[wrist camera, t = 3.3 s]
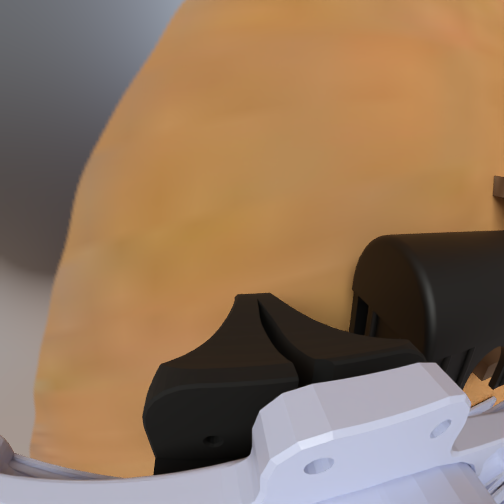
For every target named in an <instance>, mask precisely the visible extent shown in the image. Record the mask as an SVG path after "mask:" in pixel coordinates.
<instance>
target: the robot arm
mask: <svg viewBox="0 0 504 504" xmlns="http://www.w3.org/2000/svg"><path fill="white" fill-rule="evenodd" d="M495 401H496V398H495V397H494V396H493V397H491V398H489V399H487V400H486V401H484V402H482V403H480V404H478V405H476V406H474V407H472V408H470V407H471V401H470V400H469V398H468V397H467V395H466V394H465V393H464V392H463V391H462V389H461V388H460V387H459V386H458V385H457V384H456V383H455V382H454V381H453V380H452V379H451V378H450V377H449V376H448V375H447V374H446V373H445V372H444V371H443V370H442V369H441V368H440V367H439V366H438V365H437V364H436V363H427V360H426V358H425V356H424V355H423V354H422V353H421V352H420V351H419V350H418V349H417V348H416V347H415V346H414V345H413V344H412V343H411V342H410V341H409V340H407V339H386V338H376V337H369V336H363V335H358V334H353V333H350V332H346V331H342V330H339V329H336V328H333V327H330V326H327V325H325V324H322V323H320V322H317V321H315V320H313V319H311V318H309V317H307V316H305V315H304V314H302V313H300V312H298V311H297V310H295V309H293V308H292V307H290V306H289V305H287V304H286V303H284V302H283V301H281V300H280V299H278V298H277V297H275V296H274V295H272V294H271V293H257V294H238V295H237V296H236V297H235V301H234V304H233V307H232V309H231V311H230V313H229V315H228V316H227V318H226V320H225V321H224V322H223V324H222V325H221V327H220V328H219V329H218V330H217V332H216V333H215V334H214V335H213V336H212V337H211V338H210V339H209V340H207V341H206V342H205V343H203V344H202V345H201V346H199V347H198V348H196V349H195V350H193V351H191V352H189V353H187V354H186V355H183V356H181V357H179V358H176V359H174V360H171V361H168V362H166V363H162V364H161V365H160V366H159V368H158V370H157V372H156V374H155V376H154V378H153V380H152V383H151V385H150V387H149V390H148V393H147V397H146V401H145V406H144V411H143V416H142V418H143V425H144V429H145V431H146V434H147V437H148V440H149V442H150V445H151V448H152V450H153V453H154V455H155V466H154V475H153V476H144V477H134V478H120V477H113V476H106V475H100V474H94V473H89V472H84V471H79V470H74V469H69V468H65V467H61V466H57V465H53V464H49V463H46V462H42V461H39V460H35V459H32V458H28V457H25V456H22V455H19V454H16V453H14V451H13V450H12V448H11V446H10V445H9V443H8V442H7V441H6V440H5V438H3V437H2V436H1V435H0V504H504V401H502V402H501V403H499V404H497V405H495V406H494V407H493V405H494V403H495Z"/></svg>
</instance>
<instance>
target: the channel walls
mask: <svg viewBox="0 0 504 504" xmlns="http://www.w3.org/2000/svg"><path fill="white" fill-rule="evenodd" d="M493 196H498V197H502V198H504V177H500V176H494V191H493ZM500 354H501V346H500V347H497V348H495V349H493V350H492V351H490V352H489V353H488V354H487V355H486V356H485V357H484V358H483V359H482V360H481V361H480V362H479V363H478V364H477V366H476V367H475V368H474V370H473V371H472V372H473V373H474V374H475V375H476V376H477V377H478V378H479V379H480V380H481V381H483V380H485V379H488V378H490V377H492V375H493V373H494V371H495V368H496V366H497V363H498V361H499V358H500Z"/></svg>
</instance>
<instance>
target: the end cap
mask: <svg viewBox="0 0 504 504" xmlns="http://www.w3.org/2000/svg"><path fill="white" fill-rule="evenodd" d="M352 290H353V291H354V294H353V303H352V312H351V320H350V328H349V332H350V333H353V334H358V335H363V336H369V337H376V338H386V339H407V340H409V341H410V342H411V343H412V344H413V345H414V346H415V347H416V348H417V349H418V350H419V351H420V352H421V353H422V354H423V355H424V356H425V358H426V360H427V363H436V364H437V365H438V366H439V367H440V368H441V369H442V370H443V371H444V372H445V373H446V374H447V375H448V376H449V377H450V378H451V379H452V380H453V381H454V382H455V383H456V384H457V385H458V386H459V387H460V388H461V389H462V390H463V388H464V385H465V383H466V381H467V379H468V378H469V376H470V374H471V373H472V371H473V370H474V368H475V367H476V366H477V364H478V363H479V362H480V361H481V360H482V359H483V358H484V357H485V356H486V355H487V354H488V353H489V352H490V351H492V350H493V349H495V348H497V347H500V346H501V354H500V358H499V361H498V363H497V366H496V368H495V371H494V373H493V375H492V378H491V380H490V382H489V384H488V385H489V386H490V387H491V388H492V389H493V390H494V389H495V388H497V387H499V386H502V385H504V230H502V231H473V232H446V233H421V234H398V235H385V236H380V237H378V238H376V239H374V240H372V241H371V242H370V243H369V244H368V245H367V246H366V248H365V249H364V251H363V253H362V254H361V256H360V258H359V261H358V264H357V266H356V270H355V274H354V280H353V287H352Z"/></svg>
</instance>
